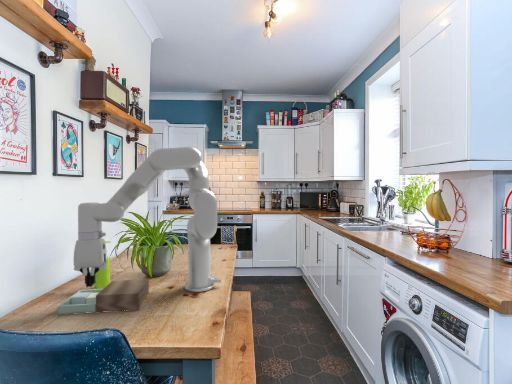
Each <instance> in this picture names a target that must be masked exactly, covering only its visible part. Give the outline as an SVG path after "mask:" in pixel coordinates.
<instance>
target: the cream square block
mask: <svg viewBox="0 0 512 384" xmlns="http://www.w3.org/2000/svg"><path fill="white" fill-rule="evenodd" d="M97 294H98V293H91V294H90V295H89V296H88V297H87V298H86V304H93V303H96V295H97Z"/></svg>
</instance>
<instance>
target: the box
mask: <svg viewBox="0 0 512 384" xmlns="http://www.w3.org/2000/svg"><path fill="white" fill-rule="evenodd" d="M102 290H103V289H94V288H93V289H92V288H91V289H79V290H78V291H76V292H75V293H74V294H72V295H71V296H70V297H69V298H67V299H66V300H64V301H63V302H62V303H61V304H59V305H58V306H57V316H62V315H61V314H69V315H75V314H74V313H86V312H96V303H93V304H75V305H71V297H72V296H74V295H75V294H77V293H83V292H92V293H99V292H100V291H102ZM86 314H87V313H86Z"/></svg>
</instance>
